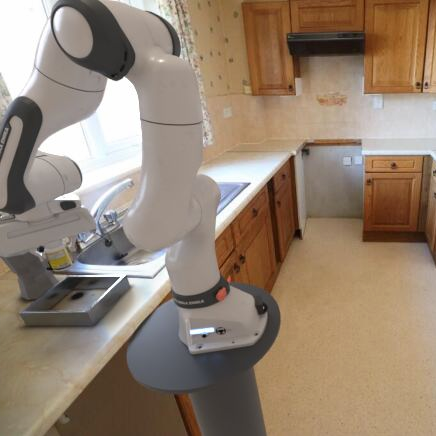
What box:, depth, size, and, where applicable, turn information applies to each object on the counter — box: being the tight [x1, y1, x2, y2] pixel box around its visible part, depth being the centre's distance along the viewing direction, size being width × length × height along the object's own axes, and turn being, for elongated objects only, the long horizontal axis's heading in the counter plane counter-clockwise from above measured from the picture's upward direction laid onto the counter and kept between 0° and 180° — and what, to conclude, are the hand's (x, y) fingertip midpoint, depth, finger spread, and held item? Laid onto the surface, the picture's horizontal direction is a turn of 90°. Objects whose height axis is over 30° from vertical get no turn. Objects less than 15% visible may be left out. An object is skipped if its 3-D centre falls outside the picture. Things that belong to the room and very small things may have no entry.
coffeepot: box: [0, 245, 60, 301], centre depth 96 cm, size 15×9×18 cm, turn 90°
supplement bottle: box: [42, 239, 76, 272], centre depth 85 cm, size 5×5×8 cm
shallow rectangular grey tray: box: [18, 274, 131, 327], centre depth 91 cm, size 19×17×4 cm
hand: (59, 255), depth 85 cm, fingers closed on supplement bottle, 5 cm apart
